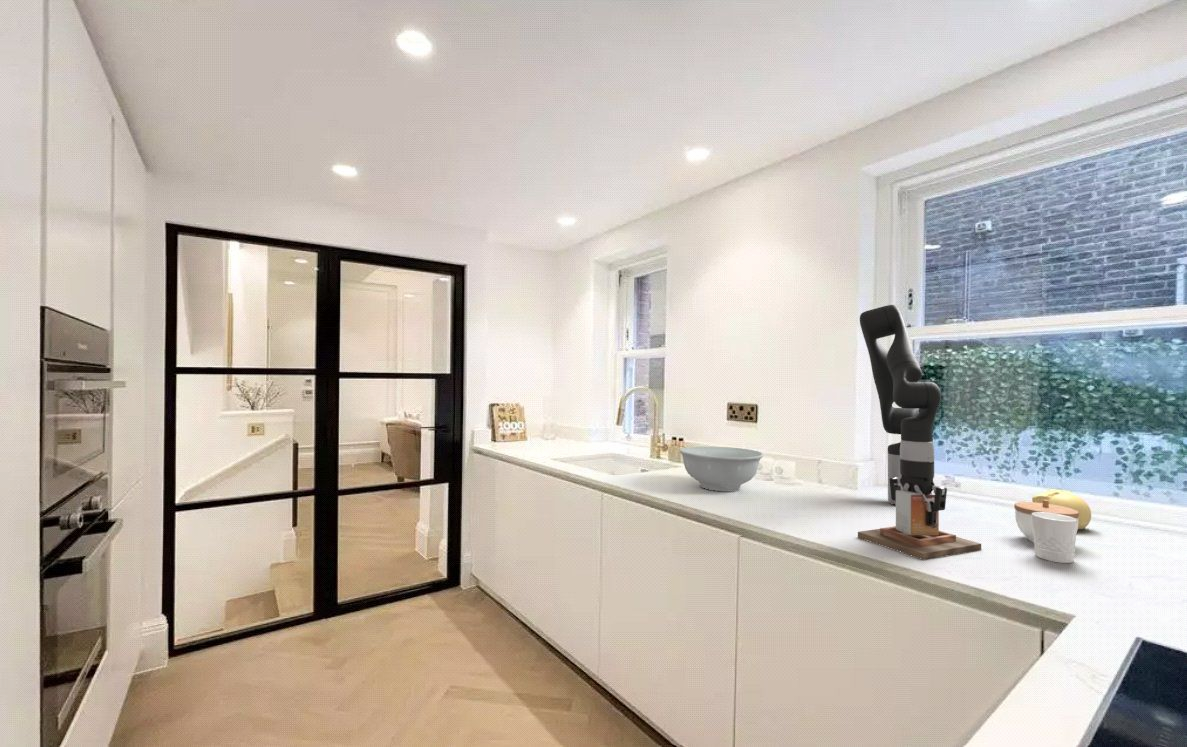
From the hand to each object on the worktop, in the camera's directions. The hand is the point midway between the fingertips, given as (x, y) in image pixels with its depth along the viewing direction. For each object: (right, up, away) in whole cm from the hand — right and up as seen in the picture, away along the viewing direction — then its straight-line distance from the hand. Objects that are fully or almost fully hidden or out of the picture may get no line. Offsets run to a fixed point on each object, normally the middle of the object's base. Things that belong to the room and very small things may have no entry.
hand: (917, 521), depth 128 cm
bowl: (-34, -7, +67) cm, 76 cm away
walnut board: (0, -5, 0) cm, 5 cm away
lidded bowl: (+35, -6, +2) cm, 36 cm away
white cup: (+26, -6, -11) cm, 29 cm away
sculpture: (+53, -6, +16) cm, 56 cm away
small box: (0, -3, 0) cm, 3 cm away
